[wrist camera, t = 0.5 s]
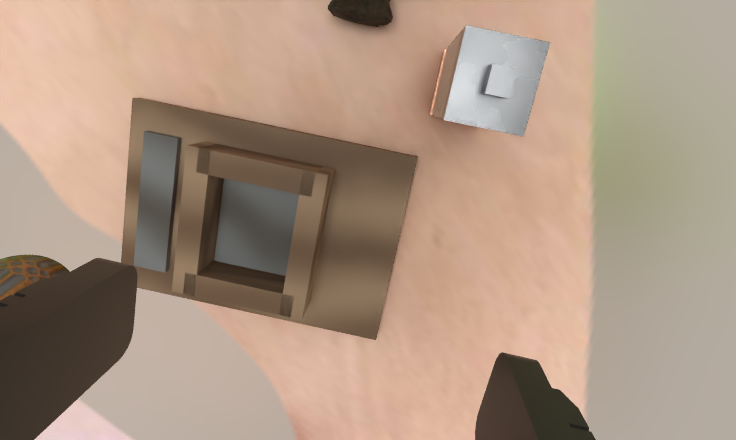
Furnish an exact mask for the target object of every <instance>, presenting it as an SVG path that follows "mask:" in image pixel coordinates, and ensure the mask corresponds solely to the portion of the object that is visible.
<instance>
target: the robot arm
mask: <svg viewBox="0 0 736 440" xmlns="http://www.w3.org/2000/svg"><path fill="white" fill-rule="evenodd" d="M137 278H138V276H137V270H136V268H135V267H134V266H132V265H128V264H123V263H119V262H114V261H110V260H106V259H102V258H96V259H93V260H91V261H90V262H88V263H86V264H84V265H82V266H80V267H78V268H77V269H75V270H73V271H71V272H69V273H67V274H62V275H59V276H55V277H51V278H47V279H43V280H39V281H36V282H35V283H33V284H31V285H29V286H27V287H25V288H23V289H21V290H19V291H17V292H15V295H9V296H7V297H5V298H3V299H2V300H0V440H34V439H35V438H36V437H37V436H38V435H40V434H41V433H42V432H43V431H44V430H45V429H46V428H47V427H48V426H49V425H50V424H51V423H52V422H53V421H54V420H56V419H57V418H58V417H59V416H60V415H61V414H62V413H63V412H64V411H65V410H66V409H67V408H68V407H69V406H70V405H72V404H73V403H74V402H75V401H76V400H77V399H78V398H79V397H80V396H81V395H82V394H83V393H84V392H85V391H86V390H87V389H89V388H90V387H91V386H92V385H93V384H94V383H95V382H96V381H97V380H98V379H99V378H100V377H101V376H102V375H103V374H104V373H106V372H107V371H108V370H109V369H110V368H111V367H112V366H113V365H114V364H115V363H116V362H117V361H118V360H119V359H120V358H121V357H122V356H123V354H124V353H125V351H126V349H127V348H128V346H129V343H130V341H131V338H132V333H133V325H134V315H135V302H136V291H137ZM475 440H595V438H594V436H593V434H592V433H591V432H589V427H588V425H587V423H586V421H585V420H584V418H583V416H582V414H581V412H580V410H579V409H578V408H577V407H576V406H575V405H574V404H573V403H572V402H571V401H570V400H569V399H568V398H567V397H566V396H565V395H564V394H563V393H562V392H561V391H560V390H558V389H554V388H551V386H550V384H549V382H548V380H547V378H546V376H545V374H544V372H543V370H542V367H541V365H540V364H539V362H538V361H537V360H533V359H529V358H524V357H520V356H516V355H511V354H507V353H500V354H499V355H498V357H497V359H496V361H495V364H494V367H493V370H492V373H491V376H490V379H489V382H488V385H487V388H486V391H485V394H484V397H483V400H482V403H481V406H480V409H479V412H478V416H477V421H476V430H475Z"/></svg>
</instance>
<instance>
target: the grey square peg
mask: <svg viewBox="0 0 736 440" xmlns="http://www.w3.org/2000/svg"><path fill="white" fill-rule="evenodd" d="M549 45H550V42H546V41H541V40H536V39H531V38H526V37H521V36H516V35H511V34H507V33H502V32H497V31H492V30H487V29H482V28H477V27H472V26H467V25H466V26H465V27H464V29H463V30H462V31H461V32H460V33H459V35H458V36H457V37H456V38H455V40H454V41H453V42H452V43H451V45H450V46H449V47H448V48H447V50H446V49H445V50H444V52H443V55H442V59H441V64H440V68H439V72H438V77H437V81H436V85H435V90H434V94H433V99H432V103H431V107H430V112H429V115H433V116H436V117H438V118H440V119H443V120H446V121H451V122H456V123H460V124H465V125H470V126H475V127H480V128H484V129H489V130H494V131H499V132H504V133H508V134H513V135H518V136H524V133H525V129H526V126H527V122H528V119H529V115H530V112H531V108H532V105H533V101H534V98H535V94H536V90H537V87H538V83H539V80H540V76H541V73H542V69H543V66H544V62H545V59H546V55H547V52H548V48H549Z"/></svg>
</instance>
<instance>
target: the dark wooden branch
mask: <svg viewBox="0 0 736 440" xmlns="http://www.w3.org/2000/svg"><path fill="white" fill-rule="evenodd" d="M389 1H390V0H332V1H331V2H330V4H329V5H328V9H329V11H330V12H331V13H332V14H333V15H334V16H337V17H339V18H342V19H345V20H348V21H352V22H356V23H361V24H365V25H372V26H376V27H378V26H379V25H387V24H389V23H390V22H391V21H392V18H393V16H392V12H391V9H390V5H389Z"/></svg>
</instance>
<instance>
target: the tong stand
mask: <svg viewBox="0 0 736 440" xmlns="http://www.w3.org/2000/svg"><path fill="white" fill-rule="evenodd" d="M416 162H417V156H414V155H409V154H404V153H399V152H395V151H390V150H385V149H380V148H376V147H371V146H366V145H361V144H357V143H352V142H347V141H342V140H338V139H333V138H328V137H323V136H319V135H314V134H309V133H304V132H300V131H295V130H290V129H285V128H281V127H276V126H271V125H266V124H262V123H257V122H252V121H247V120H243V119H238V118H233V117H228V116H224V115H219V114H214V113H209V112H205V111H200V110H195V109H190V108H186V107H181V106H176V105H171V104H167V103H162V102H157V101H152V100H147V99H143V98H133V100H132V114H131V128H130V143H129V157H128V172H127V186H126V201H125V215H124V229H123V244H122V258H121V263H123V264H128V265H132V266H134V267H135V268H136V270H137V276H138V278H137V288H142V289H147V290H151V291H155V292H160V293H164V294H169V295H173V296H178V297H182V298H187V299H192V300H196V301H201V302H205V303H210V304H214V305H219V306H223V307H228V308H233V309H237V310H242V311H246V312H251V313H255V314H260V315H264V316H269V317H274V318H278V319H283V320H287V321H292V322H296V323H301V324H305V325H310V326H314V327H319V328H324V329H328V330H333V331H337V332H342V333H346V334H351V335H355V336H360V337H365V338H369V339H374V340H376V338H377V333H378V329H379V325H380V320H381V316H382V312H383V307H384V303H385V298H386V294H387V290H388V285H389V281H390V276H391V272H392V268H393V263H394V259H395V255H396V250H397V246H398V241H399V237H400V233H401V228H402V224H403V219H404V215H405V211H406V206H407V202H408V197H409V193H410V189H411V184H412V180H413V176H414V171H415V167H416Z"/></svg>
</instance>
